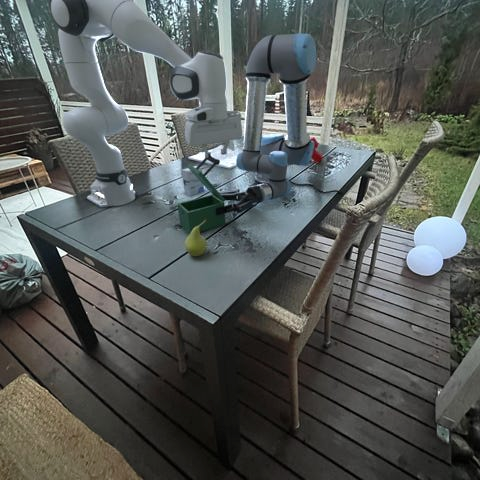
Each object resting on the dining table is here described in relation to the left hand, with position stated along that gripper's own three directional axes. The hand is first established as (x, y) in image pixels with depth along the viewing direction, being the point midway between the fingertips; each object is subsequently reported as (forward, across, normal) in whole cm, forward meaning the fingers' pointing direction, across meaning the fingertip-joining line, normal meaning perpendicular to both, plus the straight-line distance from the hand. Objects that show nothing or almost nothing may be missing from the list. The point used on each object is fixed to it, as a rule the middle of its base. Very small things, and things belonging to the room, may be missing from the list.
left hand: (216, 155), depth 95 cm
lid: (+10, +5, 0) cm, 11 cm away
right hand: (+19, +4, 0) cm, 19 cm away
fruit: (+25, +17, +17) cm, 35 cm away
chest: (+25, +7, 0) cm, 26 cm away
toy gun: (+25, -82, -37) cm, 93 cm away
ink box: (+25, -3, -31) cm, 40 cm away
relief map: (+25, -42, -73) cm, 88 cm away
